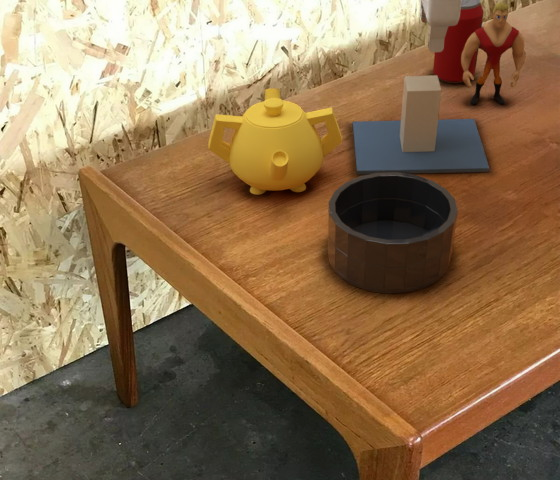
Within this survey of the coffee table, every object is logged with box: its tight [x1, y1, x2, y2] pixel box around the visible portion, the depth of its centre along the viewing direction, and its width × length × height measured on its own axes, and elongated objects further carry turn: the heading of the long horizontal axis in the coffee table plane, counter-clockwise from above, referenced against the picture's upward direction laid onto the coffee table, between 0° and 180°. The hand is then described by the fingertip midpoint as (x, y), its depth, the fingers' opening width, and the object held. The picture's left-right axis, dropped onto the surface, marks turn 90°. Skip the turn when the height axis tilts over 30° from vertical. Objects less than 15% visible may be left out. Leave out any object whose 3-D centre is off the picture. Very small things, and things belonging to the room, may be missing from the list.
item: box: [400, 74, 442, 152], centre depth 110 cm, size 4×4×9 cm
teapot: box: [207, 87, 343, 196], centre depth 105 cm, size 20×18×11 cm
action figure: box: [461, 1, 526, 106], centre depth 117 cm, size 10×4×15 cm, turn 87°
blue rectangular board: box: [352, 118, 490, 175], centre depth 113 cm, size 18×14×1 cm
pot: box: [327, 172, 459, 295], centre depth 93 cm, size 15×15×7 cm
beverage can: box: [432, 0, 485, 84], centre depth 125 cm, size 7×7×12 cm
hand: (431, 34), depth 102 cm, fingers open, 8 cm apart
